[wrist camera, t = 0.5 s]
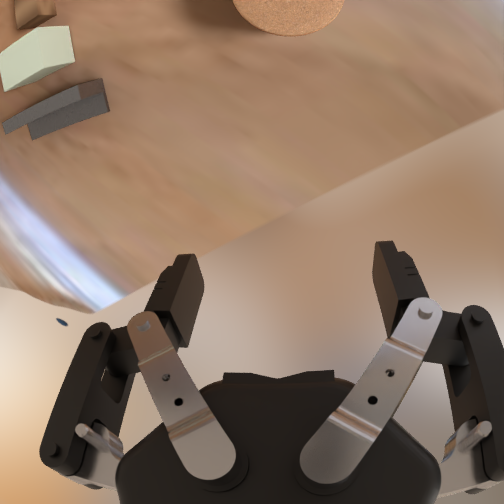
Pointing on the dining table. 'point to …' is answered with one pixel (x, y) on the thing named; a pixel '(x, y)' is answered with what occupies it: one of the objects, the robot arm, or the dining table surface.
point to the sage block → (36, 56)
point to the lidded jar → (289, 15)
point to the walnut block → (33, 12)
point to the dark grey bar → (62, 109)
